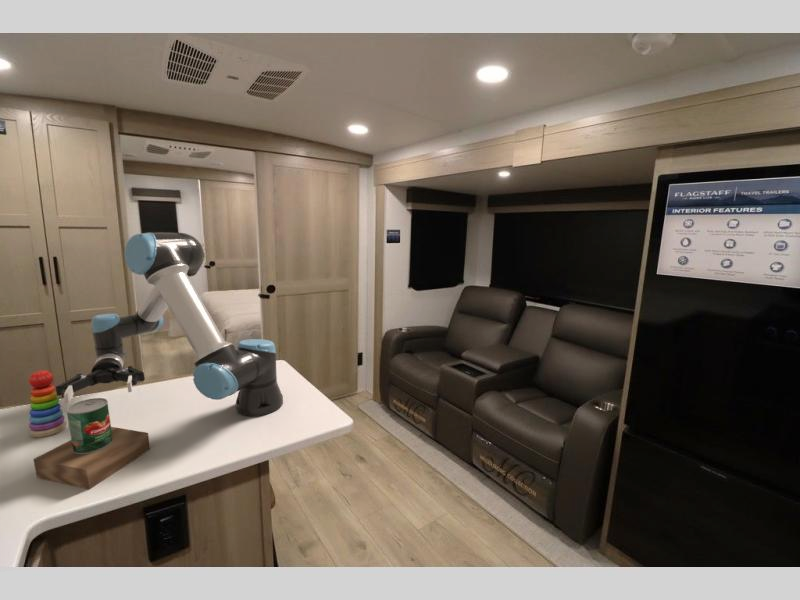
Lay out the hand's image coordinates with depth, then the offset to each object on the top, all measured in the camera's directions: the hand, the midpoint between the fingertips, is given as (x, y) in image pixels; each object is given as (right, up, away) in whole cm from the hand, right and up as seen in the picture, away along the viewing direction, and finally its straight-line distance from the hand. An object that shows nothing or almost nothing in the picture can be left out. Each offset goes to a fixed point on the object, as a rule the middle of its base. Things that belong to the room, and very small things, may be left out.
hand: (98, 393), depth 101 cm
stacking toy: (-20, -13, +7) cm, 25 cm away
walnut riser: (+5, -16, -7) cm, 18 cm away
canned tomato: (+5, -11, -8) cm, 15 cm away
